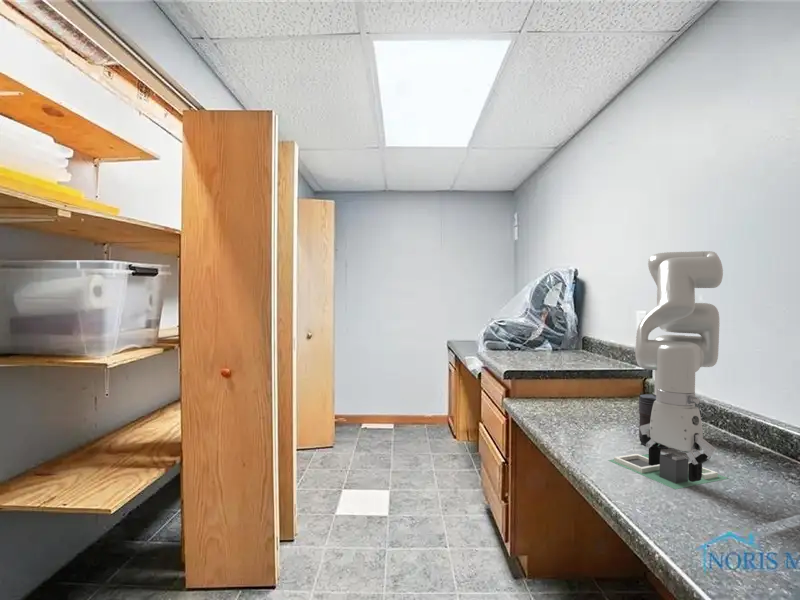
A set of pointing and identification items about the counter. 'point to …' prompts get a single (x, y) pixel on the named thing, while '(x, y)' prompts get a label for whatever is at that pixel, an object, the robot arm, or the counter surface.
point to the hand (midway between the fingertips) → (673, 472)
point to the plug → (674, 468)
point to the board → (643, 468)
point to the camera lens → (646, 414)
